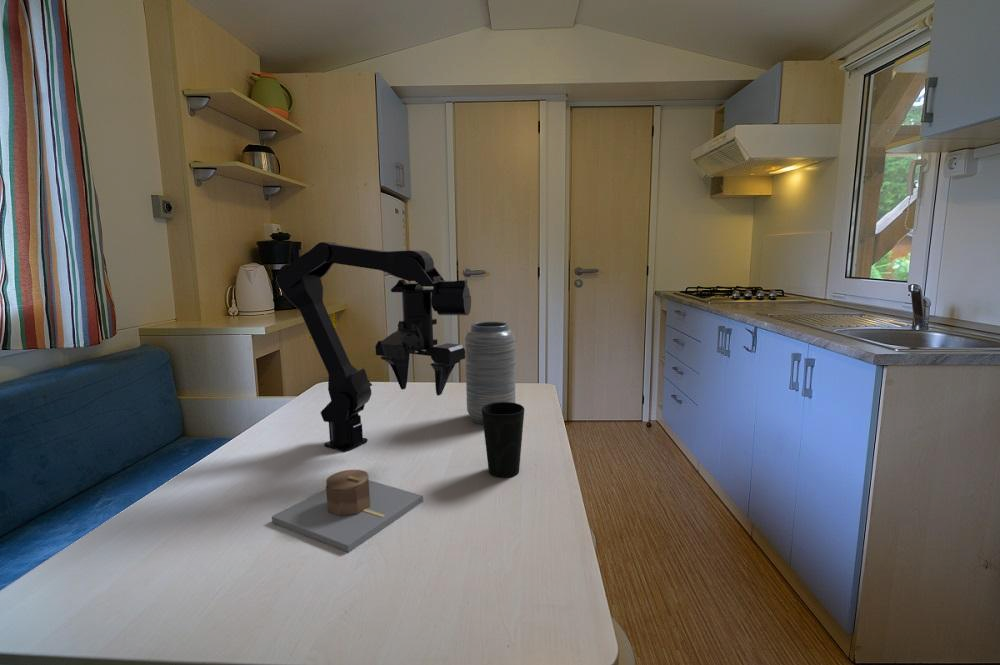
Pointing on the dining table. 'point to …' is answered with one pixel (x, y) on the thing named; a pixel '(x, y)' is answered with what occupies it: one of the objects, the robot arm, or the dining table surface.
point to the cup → (503, 437)
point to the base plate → (347, 516)
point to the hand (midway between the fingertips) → (420, 392)
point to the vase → (489, 366)
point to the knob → (347, 492)
